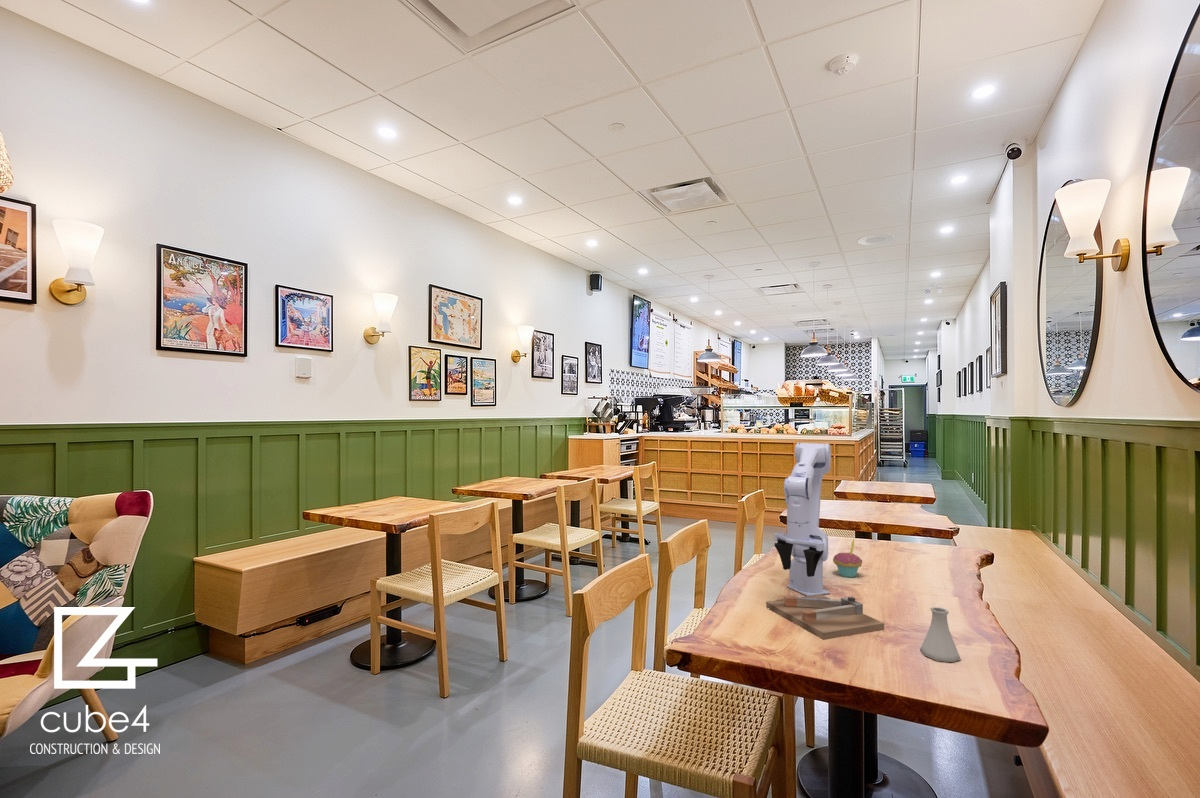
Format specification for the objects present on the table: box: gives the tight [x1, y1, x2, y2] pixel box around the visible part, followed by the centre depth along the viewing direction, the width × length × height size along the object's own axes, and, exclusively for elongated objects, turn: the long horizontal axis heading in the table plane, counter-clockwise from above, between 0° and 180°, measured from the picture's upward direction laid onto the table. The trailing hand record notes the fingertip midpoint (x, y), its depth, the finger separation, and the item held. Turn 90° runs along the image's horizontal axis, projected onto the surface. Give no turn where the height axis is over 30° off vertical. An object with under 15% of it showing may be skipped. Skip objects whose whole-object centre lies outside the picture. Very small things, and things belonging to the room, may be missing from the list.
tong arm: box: [783, 595, 842, 608], centre depth 145 cm, size 14×2×2 cm, turn 79°
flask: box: [919, 606, 962, 663], centre depth 120 cm, size 7×7×10 cm
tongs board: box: [765, 594, 885, 640], centre depth 142 cm, size 22×18×5 cm
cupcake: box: [832, 538, 863, 578], centre depth 178 cm, size 9×8×12 cm
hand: (798, 572), depth 148 cm, fingers open, 7 cm apart
